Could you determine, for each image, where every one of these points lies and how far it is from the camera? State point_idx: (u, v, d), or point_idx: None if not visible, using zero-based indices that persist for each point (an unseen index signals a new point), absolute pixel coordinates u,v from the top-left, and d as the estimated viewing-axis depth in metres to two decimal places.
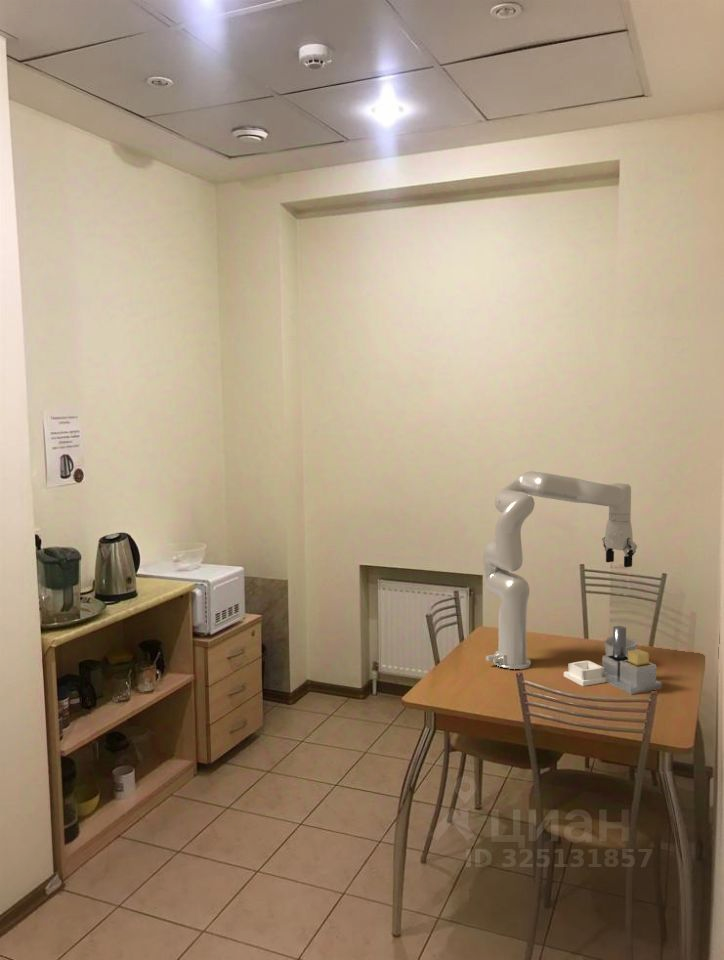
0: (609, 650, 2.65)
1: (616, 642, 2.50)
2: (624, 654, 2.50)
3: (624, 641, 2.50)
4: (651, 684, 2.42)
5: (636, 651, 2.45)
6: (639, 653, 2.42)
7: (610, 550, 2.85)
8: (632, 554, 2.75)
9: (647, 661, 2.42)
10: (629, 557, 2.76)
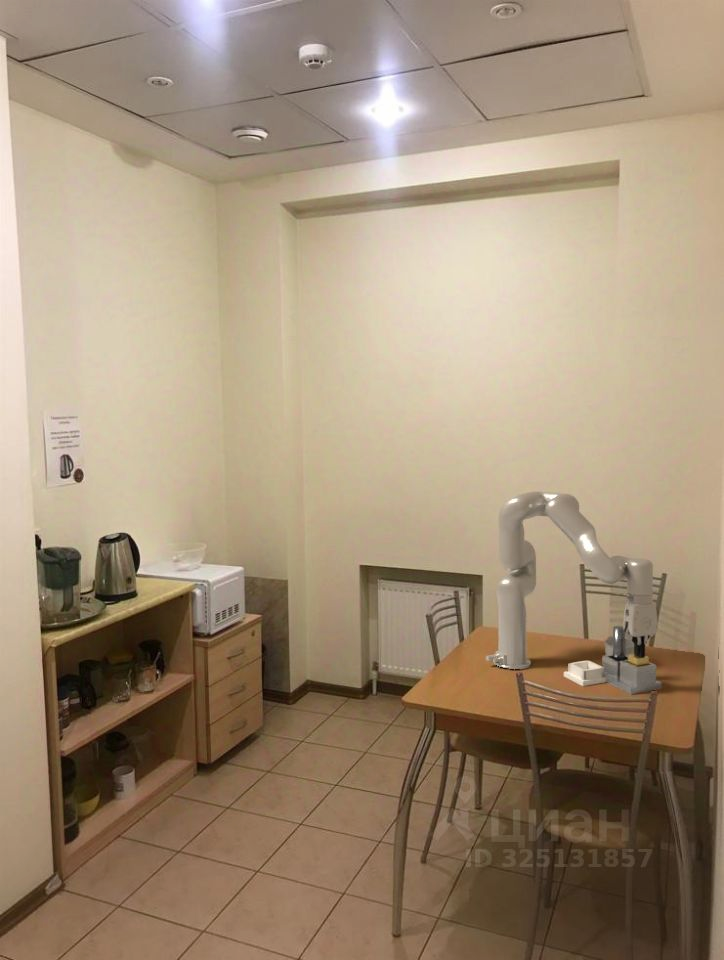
0: (609, 650, 2.65)
1: (616, 642, 2.50)
2: (624, 654, 2.50)
3: (624, 641, 2.50)
4: (651, 684, 2.42)
5: None
6: (639, 657, 2.42)
7: None
8: None
9: None
10: None
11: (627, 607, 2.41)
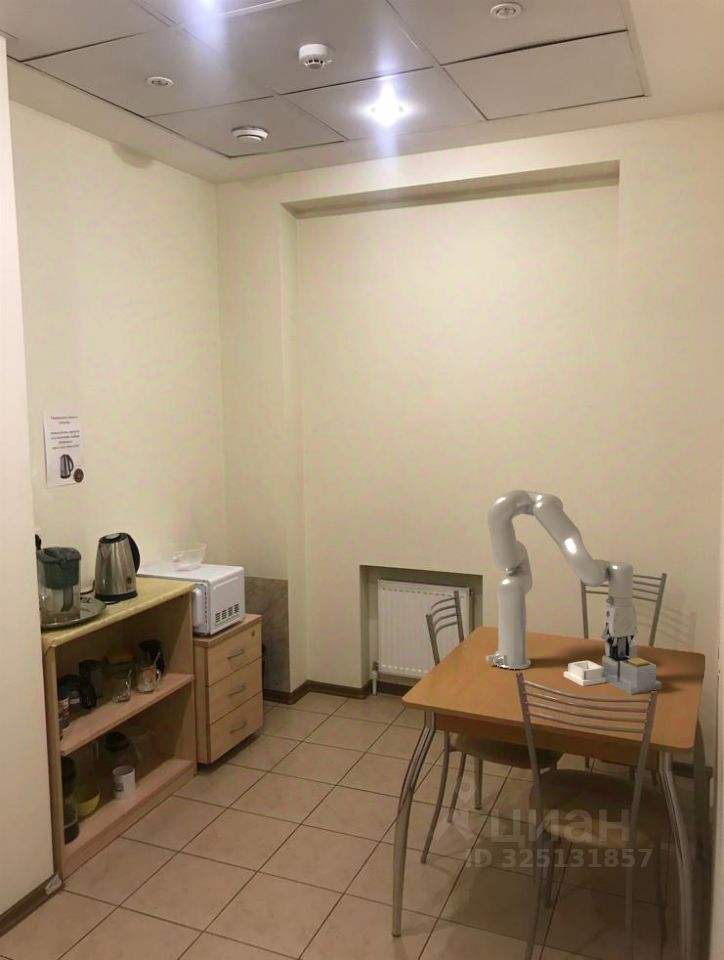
0: None
1: None
2: (624, 654, 2.50)
3: (624, 641, 2.50)
4: (651, 684, 2.42)
5: (636, 659, 2.45)
6: (639, 662, 2.42)
7: None
8: None
9: None
10: None
11: (608, 609, 2.49)
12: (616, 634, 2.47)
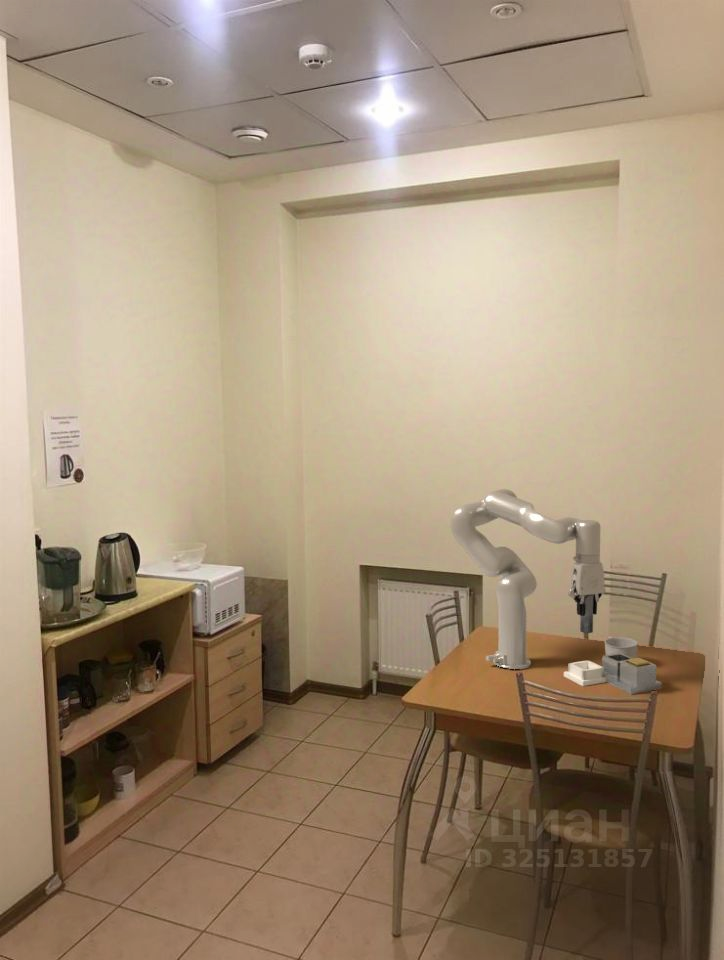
0: (609, 650, 2.65)
1: None
2: (591, 612, 2.49)
3: (591, 599, 2.49)
4: (651, 684, 2.42)
5: (636, 659, 2.45)
6: (639, 662, 2.42)
7: None
8: None
9: None
10: None
11: (575, 566, 2.48)
12: (583, 592, 2.46)
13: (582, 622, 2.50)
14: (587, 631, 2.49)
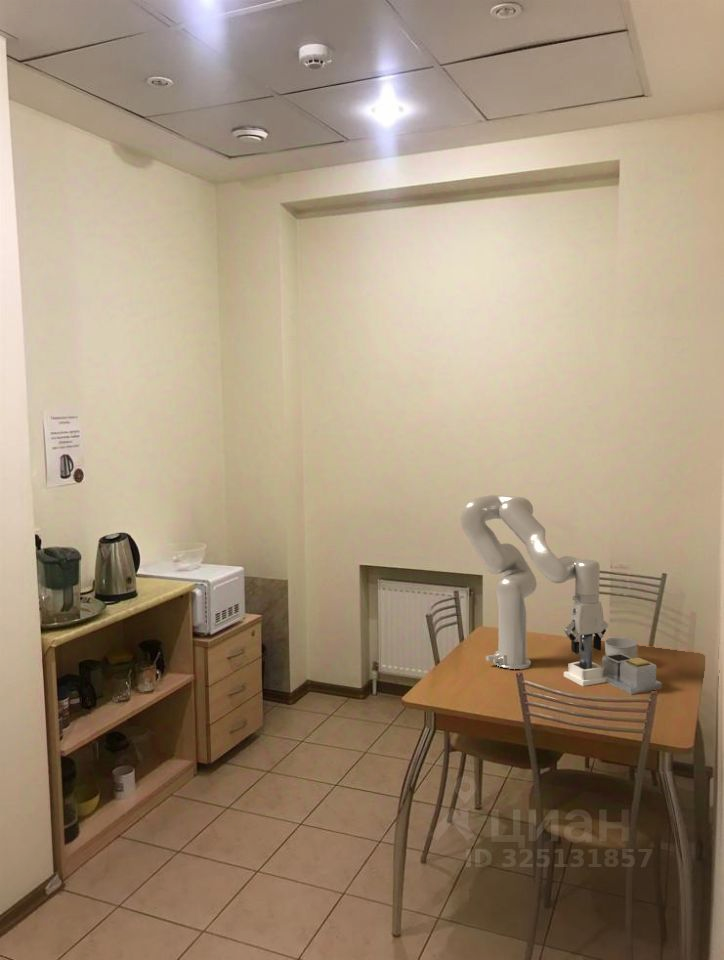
0: (609, 650, 2.65)
1: (582, 643, 2.51)
2: (590, 655, 2.51)
3: (590, 642, 2.50)
4: (651, 684, 2.42)
5: (636, 659, 2.45)
6: (639, 662, 2.42)
7: None
8: None
9: None
10: None
11: (574, 606, 2.49)
12: (582, 631, 2.47)
13: (581, 665, 2.51)
14: None
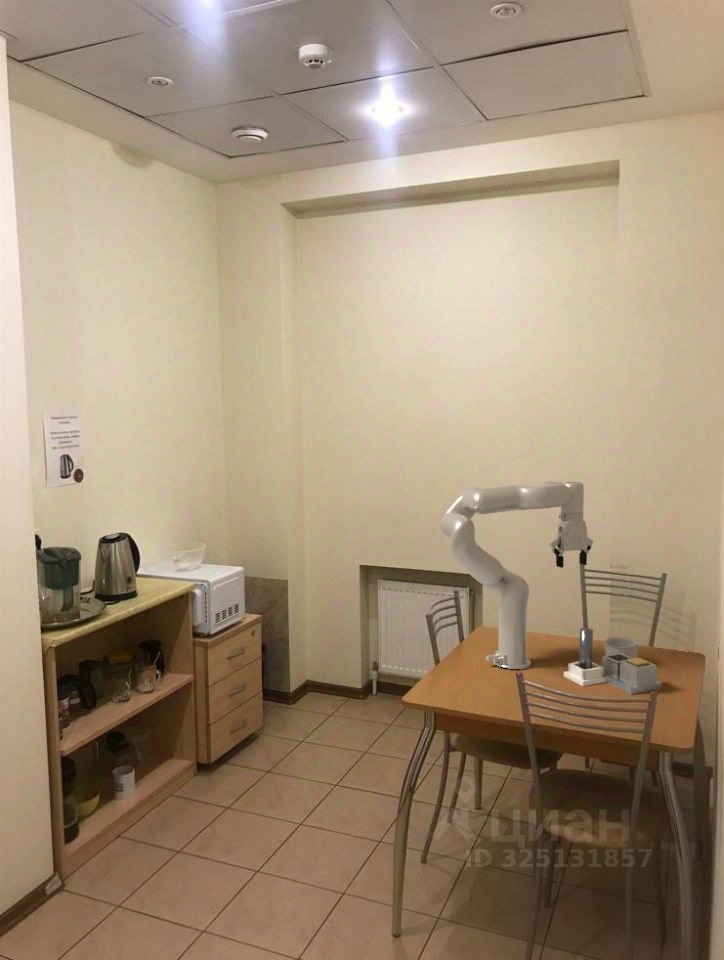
0: (609, 650, 2.65)
1: (582, 644, 2.50)
2: (590, 656, 2.51)
3: (590, 643, 2.50)
4: (651, 684, 2.42)
5: (636, 659, 2.45)
6: (639, 662, 2.42)
7: None
8: None
9: None
10: None
11: (560, 524, 2.67)
12: (568, 547, 2.66)
13: (581, 665, 2.51)
14: None
